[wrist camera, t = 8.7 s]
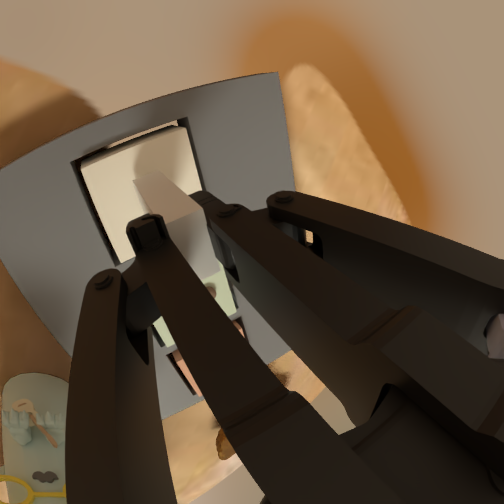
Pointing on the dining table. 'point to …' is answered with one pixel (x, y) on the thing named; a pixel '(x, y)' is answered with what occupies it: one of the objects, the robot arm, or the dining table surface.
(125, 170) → the tile one
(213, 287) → the tile two
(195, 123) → the button board
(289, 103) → the dining table surface
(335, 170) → the dining table surface
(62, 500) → the character sculpture
